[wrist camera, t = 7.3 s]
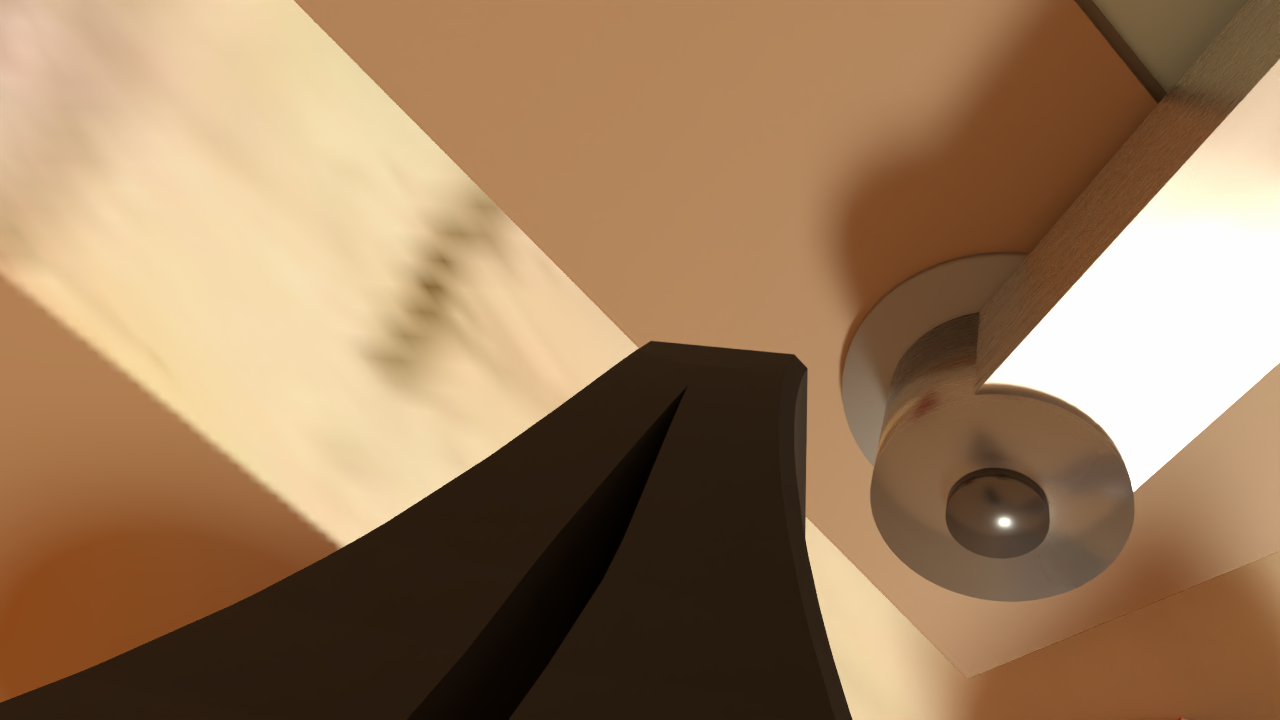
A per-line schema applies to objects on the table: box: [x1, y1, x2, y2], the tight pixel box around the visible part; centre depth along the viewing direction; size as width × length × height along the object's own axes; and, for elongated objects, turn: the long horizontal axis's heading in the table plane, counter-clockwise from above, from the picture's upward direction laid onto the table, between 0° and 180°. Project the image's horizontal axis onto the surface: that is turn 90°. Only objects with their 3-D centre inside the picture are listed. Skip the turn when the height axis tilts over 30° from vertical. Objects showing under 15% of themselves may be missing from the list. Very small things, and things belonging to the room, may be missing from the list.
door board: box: [294, 0, 1280, 679], centre depth 14 cm, size 18×18×3 cm
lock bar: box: [870, 0, 1280, 602], centre depth 14 cm, size 14×4×3 cm, turn 154°
